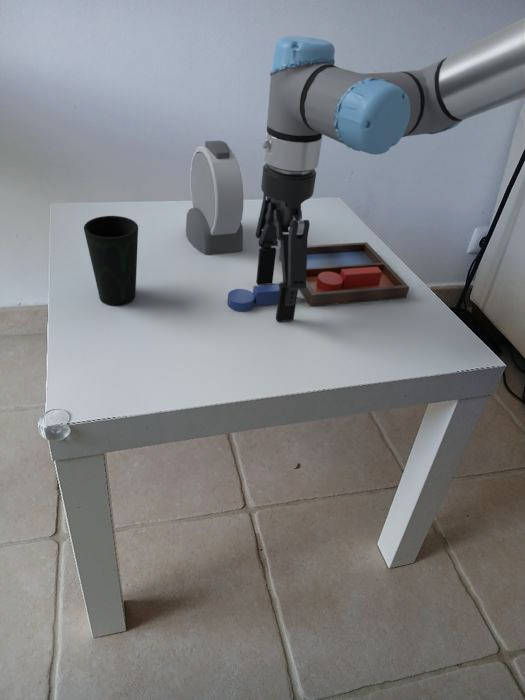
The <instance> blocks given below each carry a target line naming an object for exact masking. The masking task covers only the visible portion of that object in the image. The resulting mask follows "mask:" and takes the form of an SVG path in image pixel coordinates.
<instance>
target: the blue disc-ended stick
mask: <svg viewBox="0 0 525 700" xmlns="http://www.w3.org/2000/svg"><path fill="white" fill-rule="evenodd" d="M279 289H280V288H279V285H278V284H265V285H255V286H253V288H252V291H251V290H249V289H246V288H235V289H232V290H230V291H229V292H228V293H227V298H226V299H227V300H226V303H227V306H228V307H229V309H231V310H233V311H236V312H248V311H251V310H252V309H254V307H260V306H272V305H278V297H279Z"/></svg>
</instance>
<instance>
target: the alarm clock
mask: <svg viewBox="0 0 525 700" xmlns="http://www.w3.org/2000/svg"><path fill="white" fill-rule="evenodd" d="M189 187H190V198H191V204H192V207H191V208H189V209H188V211H187V213H186V217H185V218H186V219H185V220H186V222H185V236H186V238H187V240H188V242H189V243H190V244H191V246H193V247H194V248H195V249H196V250H197V251H198V252H200V253H202V254H203V255H205V256H211V255H219V254H220V255H221V254H230V253H238V252H242V251H243V247H244V245H243V244H244V226H243V224H242V220H243V214H244V213H243V212H244V199H245V198H244V196H245V195H244V185H243V179H242V171H241V169H240V165H239V161H238V160H237V156H236V155H235V153H234V152H233V150H232V149H231V148H230V147H229V145H228V144H227V142H225V141H223V140H206V141H205V142H204V145H201V146H200V145H199V146H198V147H196V149H195V151H194V152H193V155H192V158H191V162H190V173H189Z"/></svg>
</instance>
